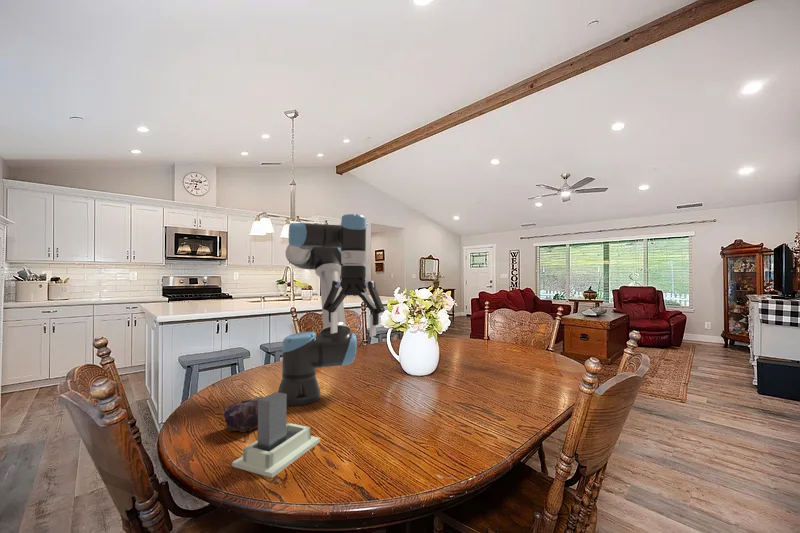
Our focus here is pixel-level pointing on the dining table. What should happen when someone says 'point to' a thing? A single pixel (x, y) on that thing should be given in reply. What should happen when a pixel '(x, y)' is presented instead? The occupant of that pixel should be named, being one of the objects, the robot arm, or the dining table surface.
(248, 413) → the rock
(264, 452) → the rectangular frame
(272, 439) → the grey l-shaped block
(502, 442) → the dining table surface
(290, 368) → the robot arm
